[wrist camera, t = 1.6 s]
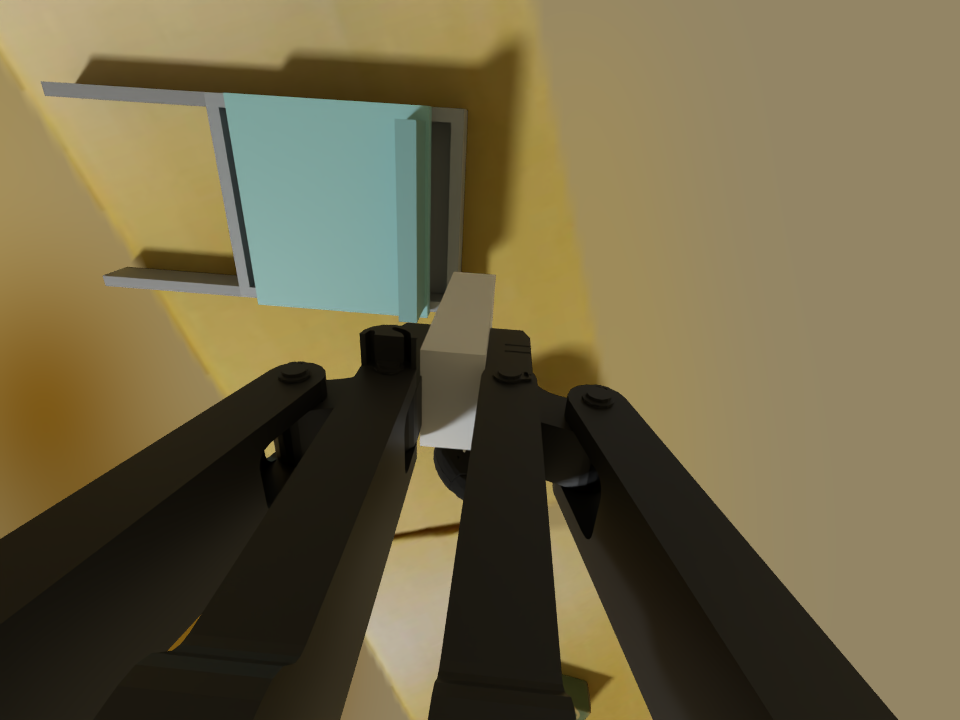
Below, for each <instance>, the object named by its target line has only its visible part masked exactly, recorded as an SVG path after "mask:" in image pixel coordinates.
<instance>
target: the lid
mask: <svg viewBox="0 0 960 720" xmlns="http://www.w3.org/2000/svg"><path fill="white" fill-rule="evenodd" d="M223 96H224V102H225V108H226V114H227V120H228V126H229V132H230V138H231V144H232V150H233V156H234V162H235V168H236V174H237V180H238V186H239V192H240V198H241V204H242V210H243V216H244V222H245V228H246V234H247V240H248V246H249V252H250V257H251V263H252V269H253V275H254V281H255V287H256V293H257V299H258V304H260V305H273V306H285V307H298V308H310V309H323V310H335V311H348V312H360V313H373V314H385V315H398V316H399V322H412V323H417V322H418V320H419V318H420V317H423V318H427V317H428V315H429V313H430V218H431V119H432V107H431V106H422V105H406V104H391V103H376V102H360V101H345V100H329V99H314V98H298V97H283V96H268V95H252V94H237V93H223Z"/></svg>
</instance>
